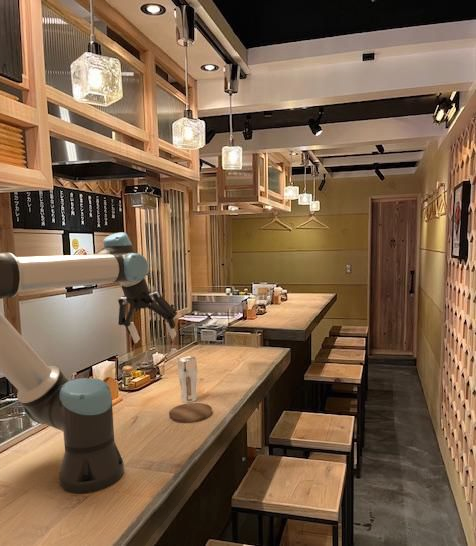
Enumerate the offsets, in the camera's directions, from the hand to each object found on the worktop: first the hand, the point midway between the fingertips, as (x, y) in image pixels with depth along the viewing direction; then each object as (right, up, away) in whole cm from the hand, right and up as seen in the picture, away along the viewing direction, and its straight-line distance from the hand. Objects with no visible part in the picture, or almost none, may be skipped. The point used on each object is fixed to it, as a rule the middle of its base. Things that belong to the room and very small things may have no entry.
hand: (155, 338), depth 146 cm
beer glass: (+9, -24, +16) cm, 30 cm away
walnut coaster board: (+11, -25, +2) cm, 28 cm away
